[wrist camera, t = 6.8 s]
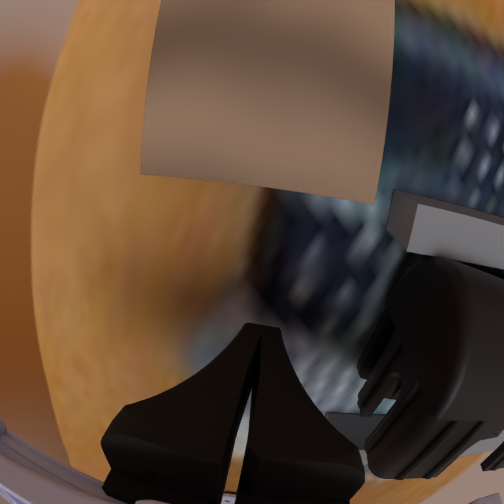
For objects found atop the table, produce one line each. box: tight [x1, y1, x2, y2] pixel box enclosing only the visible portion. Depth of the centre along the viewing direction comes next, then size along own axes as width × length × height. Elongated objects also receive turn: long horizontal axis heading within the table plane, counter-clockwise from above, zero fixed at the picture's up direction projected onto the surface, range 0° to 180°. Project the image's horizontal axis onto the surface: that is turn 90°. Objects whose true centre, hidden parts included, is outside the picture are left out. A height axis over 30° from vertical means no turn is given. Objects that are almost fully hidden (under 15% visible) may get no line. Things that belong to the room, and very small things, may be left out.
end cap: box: [357, 256, 504, 480], centre depth 9 cm, size 10×7×7 cm
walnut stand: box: [140, 0, 395, 205], centre depth 9 cm, size 8×8×1 cm
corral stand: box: [325, 190, 504, 465], centre depth 11 cm, size 13×12×2 cm
